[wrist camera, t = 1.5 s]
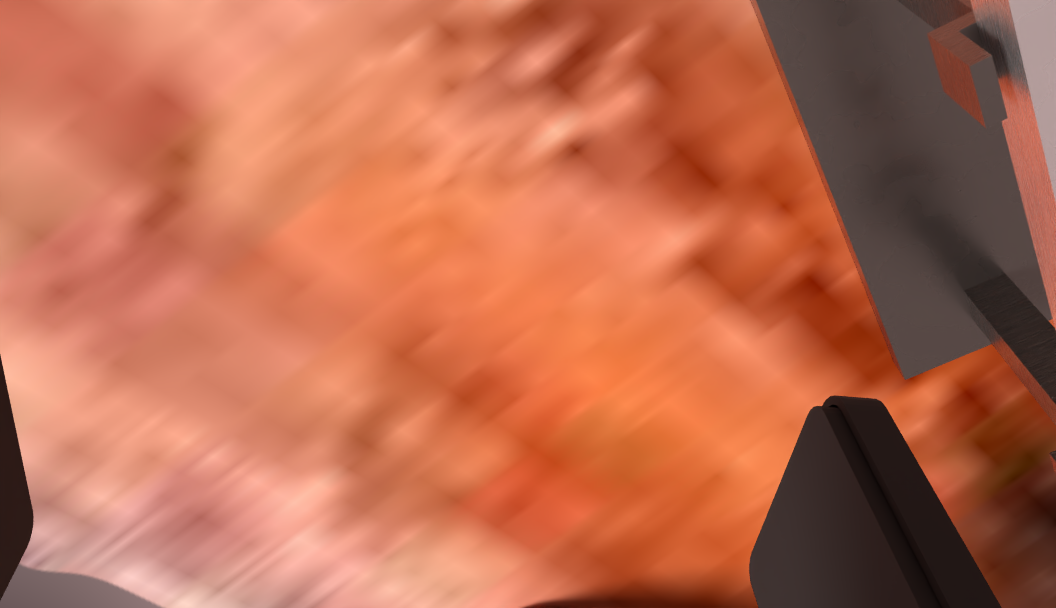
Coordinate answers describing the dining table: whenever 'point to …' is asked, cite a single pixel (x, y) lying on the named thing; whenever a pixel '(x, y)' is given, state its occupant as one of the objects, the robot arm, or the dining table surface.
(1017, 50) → the rail
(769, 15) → the rack
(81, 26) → the dining table surface
